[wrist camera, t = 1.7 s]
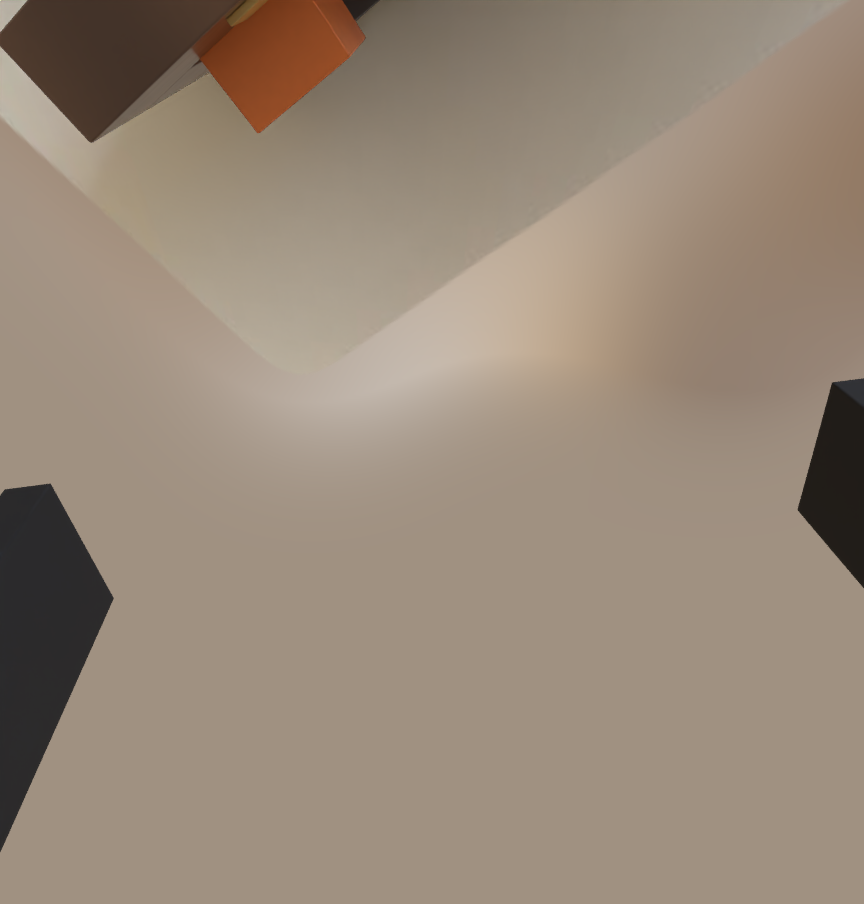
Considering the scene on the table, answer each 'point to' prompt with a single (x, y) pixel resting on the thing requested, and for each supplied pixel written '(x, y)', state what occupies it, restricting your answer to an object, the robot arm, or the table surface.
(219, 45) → the orange key
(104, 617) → the robot arm
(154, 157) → the table surface
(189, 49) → the brown wooden upright panel
